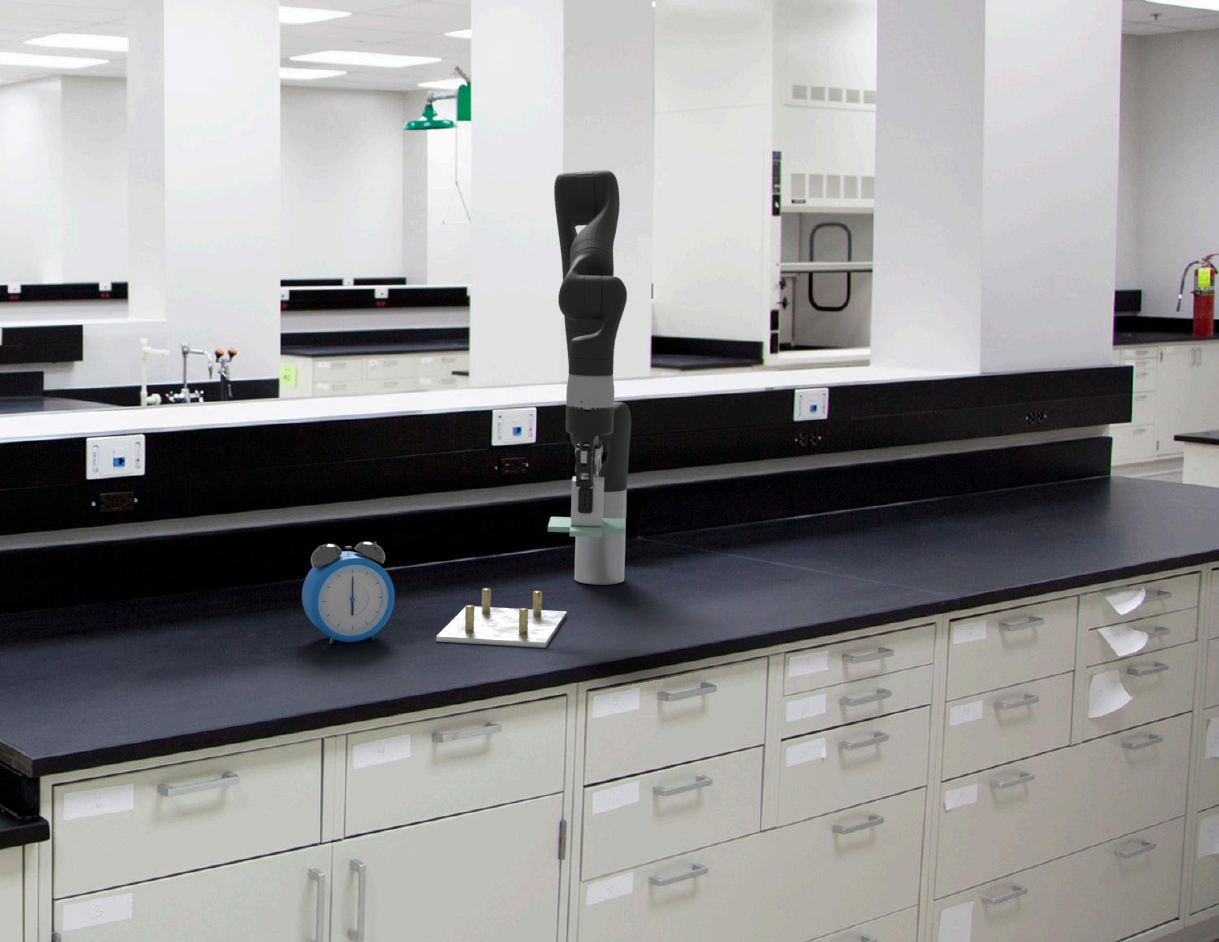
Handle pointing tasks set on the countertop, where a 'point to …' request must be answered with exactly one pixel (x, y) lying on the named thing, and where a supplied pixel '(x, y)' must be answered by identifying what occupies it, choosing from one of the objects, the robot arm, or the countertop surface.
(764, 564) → the countertop surface
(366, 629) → the alarm clock
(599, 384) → the robot arm
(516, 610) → the chassis plate
